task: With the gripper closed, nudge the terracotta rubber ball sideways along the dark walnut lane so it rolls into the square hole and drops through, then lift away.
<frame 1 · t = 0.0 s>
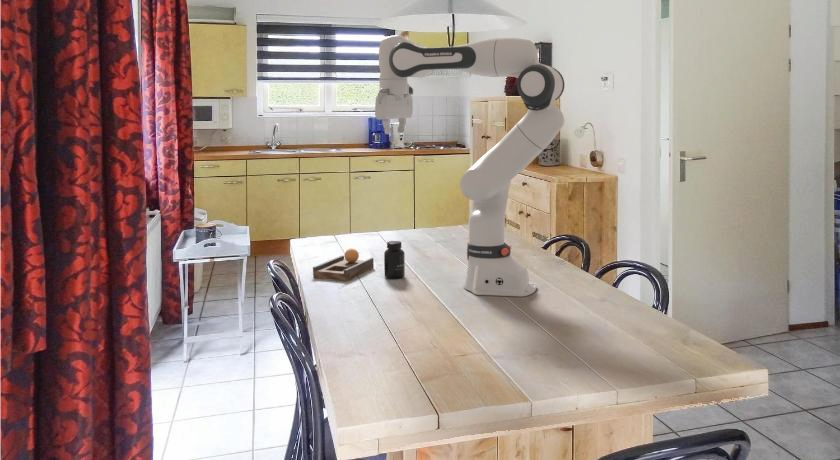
hand: (394, 133, 214), 48 cm above the table, fingers open, 8 cm apart
lane: (344, 272, 232), on the table
ball: (351, 255, 236), point 5 cm above the table, touching lane
supplement bottle: (394, 277, 226), on the table
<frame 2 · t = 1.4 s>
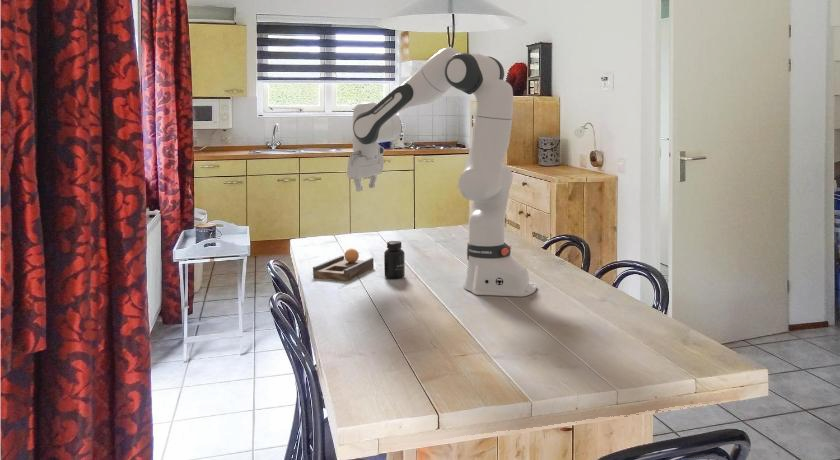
hand: (365, 189, 235), 28 cm above the table, fingers open, 8 cm apart
nothing on the table moved.
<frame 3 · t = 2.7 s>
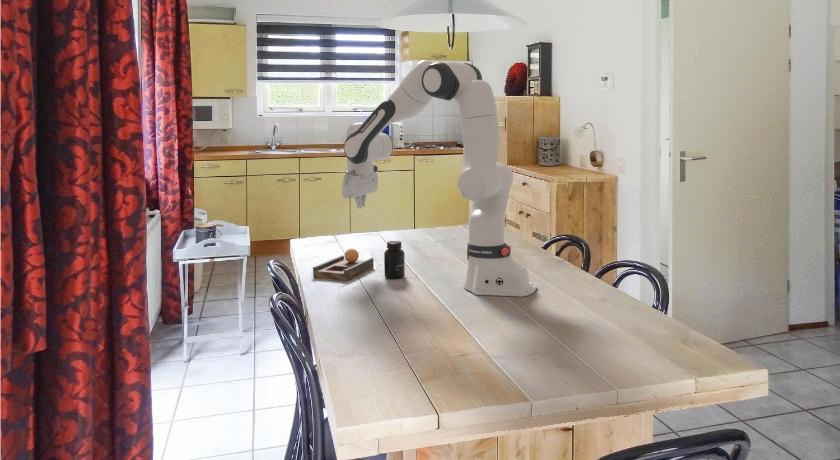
hand: (361, 207, 241), 21 cm above the table, fingers closed
nothing on the table moved.
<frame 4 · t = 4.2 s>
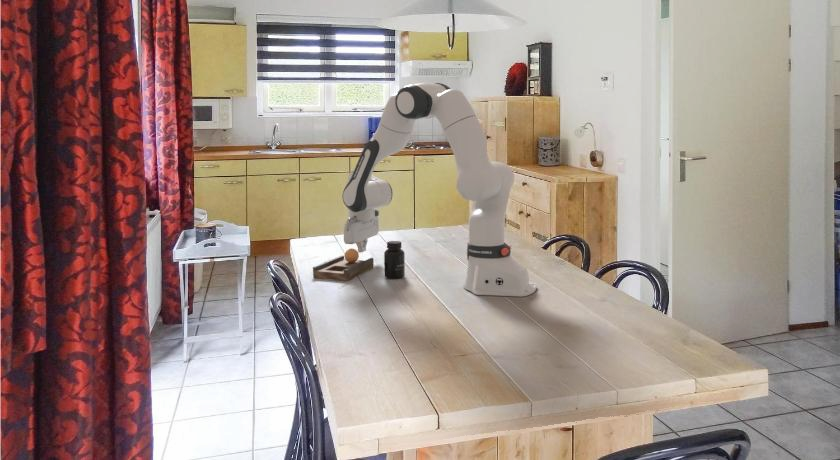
hand: (362, 251, 244), 5 cm above the table, fingers closed
nothing on the table moved.
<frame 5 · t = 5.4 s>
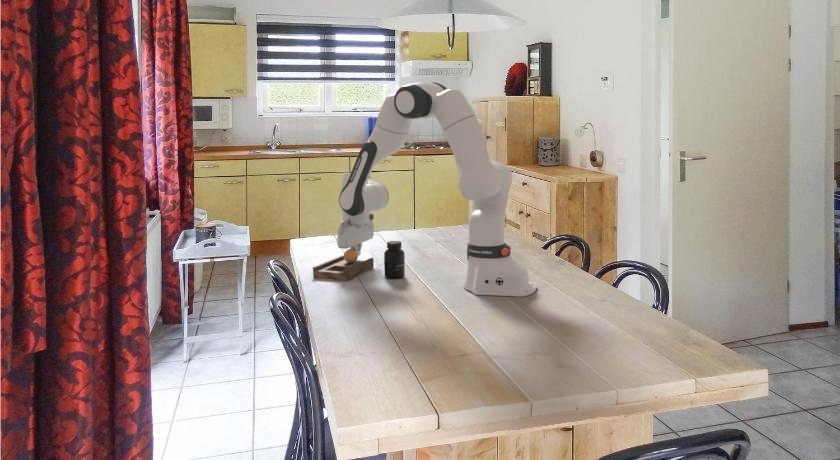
hand: (356, 256, 240), 4 cm above the table, fingers closed
ball: (350, 255, 236), point 5 cm above the table, tilted 12°, touching gripper, lane
everything else where it was.
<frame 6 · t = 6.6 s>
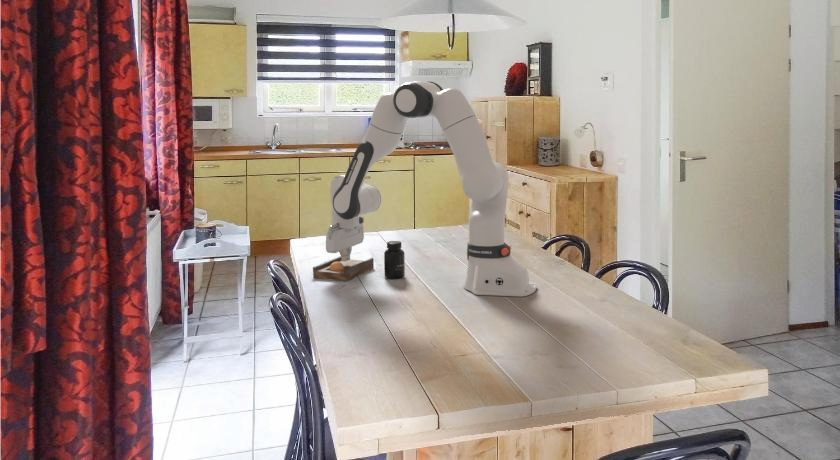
hand: (345, 260, 233), 4 cm above the table, fingers closed
ball: (336, 268, 228), point 2 cm above the table, tilted 99°
everything else where it was.
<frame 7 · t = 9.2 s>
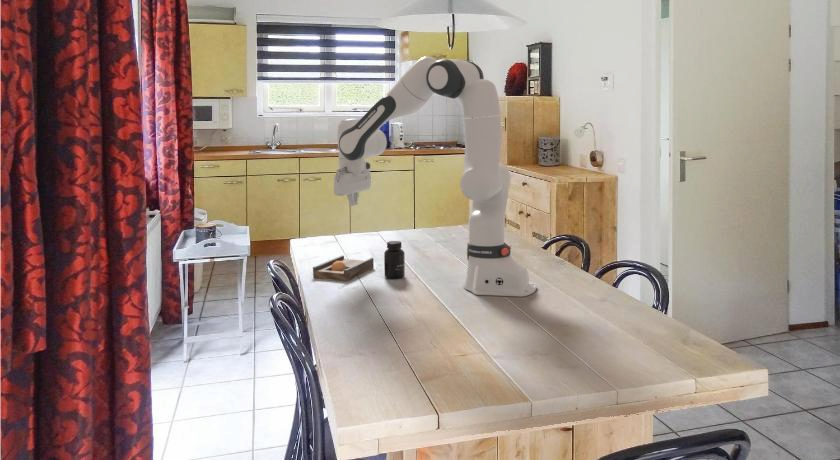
hand: (353, 205, 235), 23 cm above the table, fingers closed
ball: (338, 268, 229), point 2 cm above the table, tilted 128°
everything else where it was.
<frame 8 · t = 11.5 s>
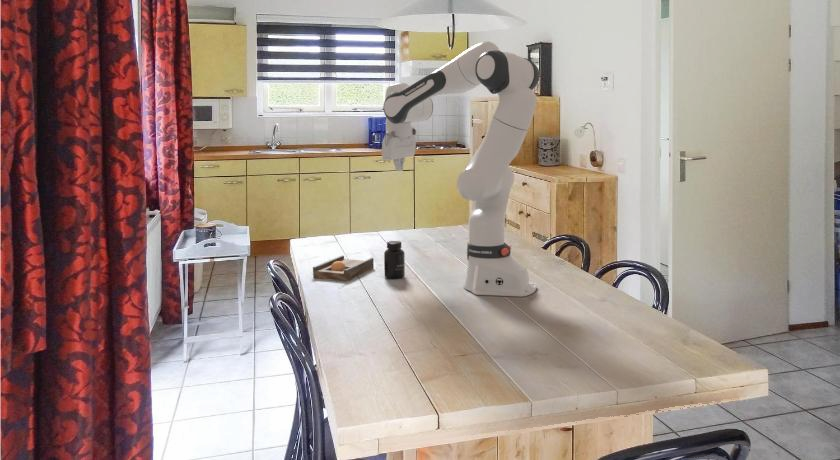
hand: (399, 170, 236), 34 cm above the table, fingers closed
ball: (338, 268, 229), point 2 cm above the table, tilted 120°
everything else where it was.
at the end: ball 0.3 cm from the target spot on the lane, point 2.5 cm above the lane's base; the gripper is holding nothing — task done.
